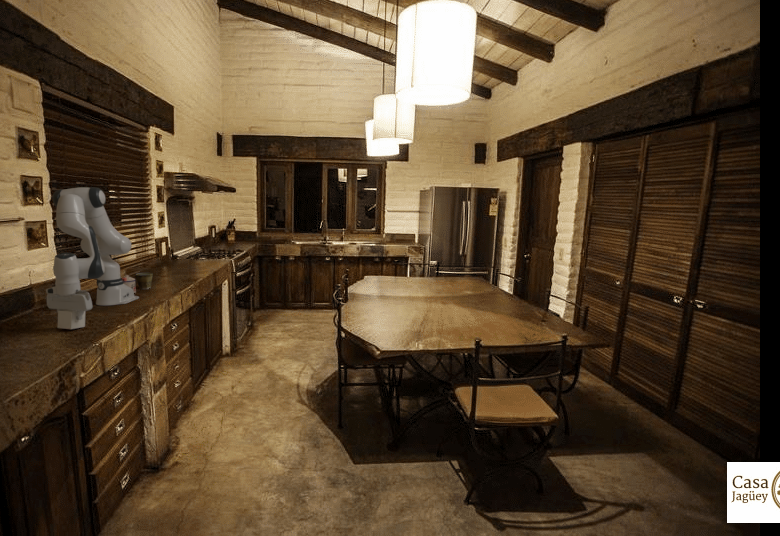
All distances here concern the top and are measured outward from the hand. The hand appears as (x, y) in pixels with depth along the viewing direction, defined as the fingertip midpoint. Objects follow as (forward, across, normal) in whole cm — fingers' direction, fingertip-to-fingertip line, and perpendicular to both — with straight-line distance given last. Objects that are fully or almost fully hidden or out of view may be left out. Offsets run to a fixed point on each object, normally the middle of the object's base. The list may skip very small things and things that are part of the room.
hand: (71, 319), depth 187 cm
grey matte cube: (+4, 0, 0) cm, 4 cm away
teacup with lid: (+5, +32, -71) cm, 78 cm away
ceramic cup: (+5, +34, -86) cm, 93 cm away
